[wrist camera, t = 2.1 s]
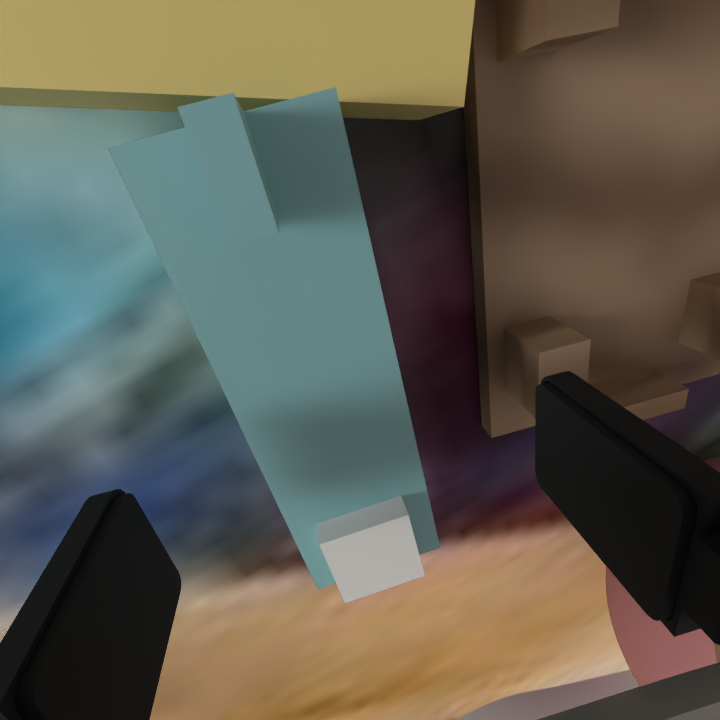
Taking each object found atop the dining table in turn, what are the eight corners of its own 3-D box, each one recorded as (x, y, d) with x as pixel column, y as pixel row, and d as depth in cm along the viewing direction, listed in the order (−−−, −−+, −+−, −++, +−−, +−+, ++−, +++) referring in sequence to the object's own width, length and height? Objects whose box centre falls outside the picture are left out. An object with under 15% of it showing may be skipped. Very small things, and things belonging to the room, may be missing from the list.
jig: (447, -174, 11) (516, -309, 8) (837, -230, 12) (1038, -370, 9) (481, 425, 20) (520, 473, 17) (700, 365, 21) (774, 399, 18)
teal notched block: (175, 153, 13) (44, 141, 6) (310, 117, 13) (358, 59, 6) (305, 473, 19) (325, 664, 12) (395, 444, 20) (468, 613, 12)
